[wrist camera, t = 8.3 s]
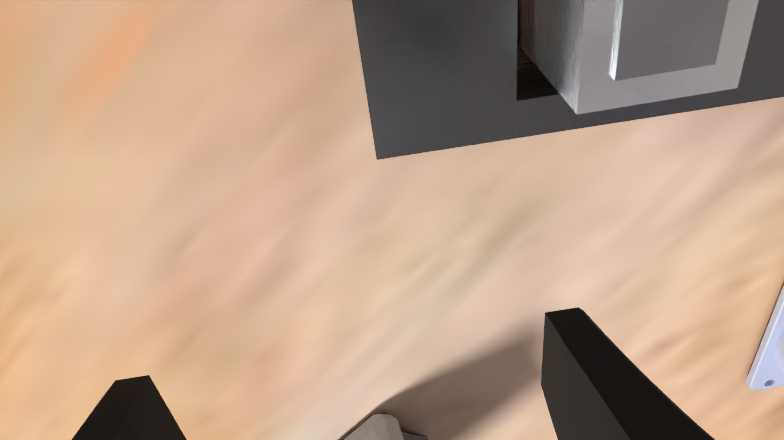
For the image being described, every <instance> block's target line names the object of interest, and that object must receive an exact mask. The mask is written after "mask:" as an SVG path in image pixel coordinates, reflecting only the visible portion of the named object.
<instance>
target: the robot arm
mask: <svg viewBox="0 0 784 440" xmlns="http://www.w3.org/2000/svg"><path fill="white" fill-rule="evenodd" d="M746 384H747V385H748V386H749V388H750V389H752V390H761V389H768V388H774V387H780V386H784V286H783V288H782V291H781V293H780V296H779V298H778V301H777V303H776V306H775V308H774V311H773V314H772V316H771V319H770V321H769V324H768V326H767V329H766V331H765V334H764V336H763V339H762V341H761V344H760V347H759V349H758V352H757V354H756V357H755V359H754V362H753V364H752V367H751V369H750V372H749V375H748V377H747V380H746ZM541 386H542V389H543V392H544V396H545V399H546V403H547V406H548V409H549V413H550V416H551V419H552V422H553V425H554V429H555V432H556V435H557V438H558V440H715V439H713V438H712V437H711V436H710V435H709V434H708V433H707V432H705V431H704V430H703V429H702V428H701V427H700V426H699V425H697V424H696V423H695V422H694V421H693V420H692V419H691V418H690V417H689V416H688V415H686V414H685V413H684V412H683V411H682V410H681V409H680V408H679V407H678V406H677V405H676V404H675V403H674V402H672V401H671V400H670V399H669V398H668V397H667V396H666V395H665V394H664V393H663V392H662V391H661V390H660V389H659V388H658V387H657V386H656V385H655V384H654V383H652V382H651V381H650V380H649V379H648V378H647V377H646V376H645V375H644V374H643V373H642V372H641V371H640V370H639V369H638V368H637V367H636V366H635V365H634V364H633V363H632V362H631V361H630V360H629V359H628V358H627V357H626V356H625V355H624V354H623V353H622V351H621V350H620V349H619V348H618V347H617V346H616V345H615V344H614V343H613V342H612V341H611V340H610V339H609V338H608V337H607V336H606V335H605V334H604V333H603V331H602V330H601V329H600V328H599V327H598V326H597V325H596V324H595V323H594V322H593V321H592V320H591V318H590V317H589V316H588V315H587V314H586V313H585V312H584V311H583V310H581V309H580V308H579V307H578V308H572V309H566V310H559V311H553V312H547V313H545V325H544V342H543V360H542V377H541ZM72 440H186V438H185V436H184V435H183V433H182V431H181V429H180V428H179V426H178V424H177V423H176V421H175V419H174V417H173V416H172V414H171V412H170V411H169V409H168V407H167V405H166V404H165V402H164V400H163V399H162V397H161V395H160V393H159V392H158V390H157V388H156V386H155V385H154V383H153V381H152V380H151V378H150V376H149V375H147V376H141V377H135V378H128V379H122V380H116V381H115V382H114V383H113V384H112V386H111V387H110V388H109V390H108V391H107V392H106V394H105V395H104V396H103V398H102V399H101V400H100V402H99V403H98V404H97V406H96V407H95V408H94V410H93V411H92V413H91V414H90V415H89V417H88V418H87V419H86V421H85V422H84V423H83V425H82V426H81V428H80V429H79V430H78V432H77V433H76V434H75V436H74V437H73V439H72Z"/></svg>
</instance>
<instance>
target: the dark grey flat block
mask: <svg viewBox="0 0 784 440" xmlns="http://www.w3.org/2000/svg"><path fill="white" fill-rule="evenodd" d="M352 3H353V10H354V16H355V22H356V29H357V35H358V42H359V48H360V54H361V61H362V67H363V74H364V80H365V87H366V93H367V99H368V106H369V112H370V119H371V125H372V131H373V138H374V144H375V151H376V157H377V160H378V159H384V158H391V157H397V156H403V155H410V154H416V153H423V152H429V151H436V150H442V149H449V148H455V147H462V146H468V145H475V144H481V143H488V142H494V141H500V140H507V139H513V138H520V137H526V136H533V135H539V134H546V133H552V132H559V131H565V130H572V129H578V128H584V127H591V126H597V125H604V124H610V123H617V122H623V121H630V120H636V119H643V118H649V117H656V116H662V115H668V114H675V113H681V112H688V111H694V110H701V109H707V108H714V107H720V106H727V105H733V104H740V103H746V102H753V101H759V100H765V99H772V98H778V97H784V0H759V1H758V5H757V10H756V14H755V18H754V22H753V26H752V30H751V34H750V38H749V43H748V47H747V51H746V55H745V59H744V63H743V67H742V71H741V75H740V80H739V84H738V88H735V89H729V90H723V91H717V92H711V93H705V94H699V95H693V96H687V97H680V98H674V99H668V100H662V101H656V102H650V103H644V104H638V105H632V106H626V107H620V108H614V109H608V110H602V111H596V112H590V113H584V114H578V115H577V114H576V113H575V112H574V110H573V109H572V108H571V107H570V106H569V104H568V103H567V102H566V101H565V100H564V98H563V97H562V96H561V95H560V94H559V92H558V91H557V90H556V89H555V88H554V86H553V85H552V84H551V83H550V82H549V80H548V79H547V78H546V77H545V76H544V74H543V73H542V72H541V71H540V70H539V68H538V67H537V66H536V65H535V64H534V63H530V64H524V65H517V8H518V0H352Z"/></svg>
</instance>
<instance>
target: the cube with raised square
mask: <svg viewBox="0 0 784 440" xmlns="http://www.w3.org/2000/svg"><path fill="white" fill-rule="evenodd" d="M758 1H759V0H521V27H520V47H521V48H522V49H523V51H524V52H525V53H526V54H527V55H528V57H529V58H530V59H531V60H532V61H533V63H534V64H535V65H536V66H537V67H538V68H539V70H540V71H541V72H542V73H543V74H544V76H545V77H546V78H547V79H548V80H549V82H550V83H551V84H552V85H553V86H554V88H555V89H556V90H557V91H558V92H559V94H560V95H561V96H562V97H563V98H564V100H565V101H566V102H567V103H568V104H569V106H570V107H571V108H572V109H573V110H574V112H575V113H576V114H577V115H578V114H584V113H590V112H596V111H602V110H608V109H614V108H620V107H626V106H632V105H638V104H644V103H650V102H656V101H662V100H668V99H674V98H680V97H687V96H693V95H699V94H705V93H711V92H717V91H723V90H729V89H735V88H738V84H739V80H740V75H741V71H742V67H743V63H744V59H745V55H746V51H747V47H748V43H749V38H750V34H751V30H752V26H753V22H754V18H755V14H756V10H757V5H758Z"/></svg>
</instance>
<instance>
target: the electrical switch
mask: <svg viewBox="0 0 784 440" xmlns="http://www.w3.org/2000/svg"><path fill="white" fill-rule="evenodd" d="M344 440H428V439H427V437H426V436H421V435H410V434H407V433H405V432H401V429H400V426H399V423H398V420H397V419H396V418H394V417H393V416H392V415H390V414H376V415H372V416H371V417H370V418H369V419H368V420H366V421H365V422H364V423H363V424H362V425H361V426H359V427H358V428H357V429H356V430H355V431H353V432H352V433H351V434H350V435H349V436H347V437H346V438H345V439H344Z"/></svg>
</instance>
